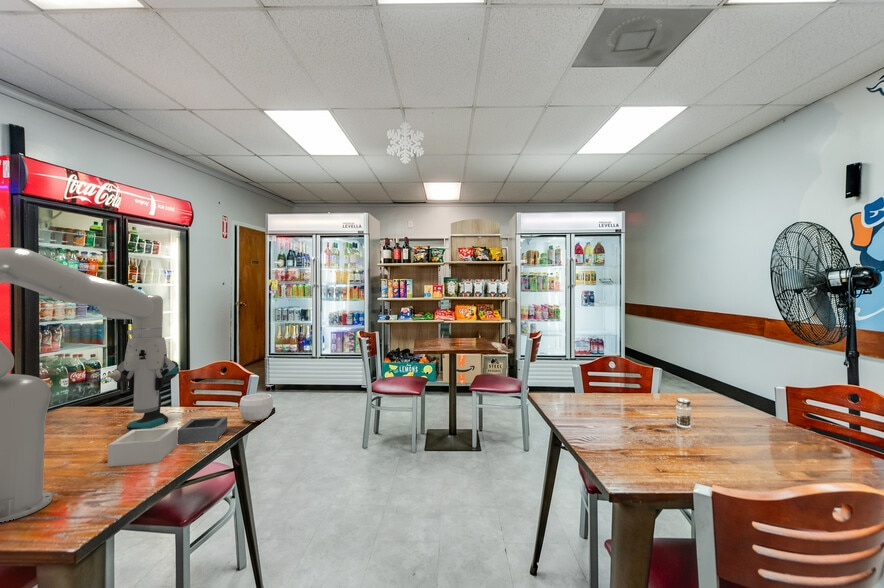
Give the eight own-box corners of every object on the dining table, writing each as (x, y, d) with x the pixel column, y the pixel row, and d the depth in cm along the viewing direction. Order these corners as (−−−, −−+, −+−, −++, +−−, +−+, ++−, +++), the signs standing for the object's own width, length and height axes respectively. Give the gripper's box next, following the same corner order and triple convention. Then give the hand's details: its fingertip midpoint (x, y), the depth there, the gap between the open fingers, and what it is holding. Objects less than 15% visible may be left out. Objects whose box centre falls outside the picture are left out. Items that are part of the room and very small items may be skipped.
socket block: (216, 441, 131) (216, 427, 131) (177, 444, 128) (177, 429, 128) (227, 429, 142) (227, 416, 142) (191, 432, 139) (191, 418, 139)
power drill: (116, 440, 130) (118, 369, 131) (96, 438, 132) (97, 367, 132) (182, 417, 156) (183, 357, 156) (164, 416, 158) (166, 356, 158)
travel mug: (128, 411, 117) (129, 348, 118) (152, 406, 123) (153, 345, 123) (138, 414, 114) (139, 349, 115) (162, 409, 120) (163, 347, 120)
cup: (277, 415, 160) (278, 393, 160) (263, 425, 148) (263, 401, 148) (249, 415, 160) (249, 392, 160) (232, 424, 148) (233, 400, 148)
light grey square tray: (158, 462, 114) (158, 441, 114) (107, 466, 111) (108, 444, 111) (177, 446, 126) (177, 426, 127) (131, 449, 123) (132, 429, 123)
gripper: (108, 335, 113) (106, 394, 113) (173, 334, 118) (172, 391, 117) (122, 332, 121) (121, 388, 120) (183, 332, 125) (182, 386, 125)
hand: (146, 389), depth 119 cm, fingers closed on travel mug, 6 cm apart
